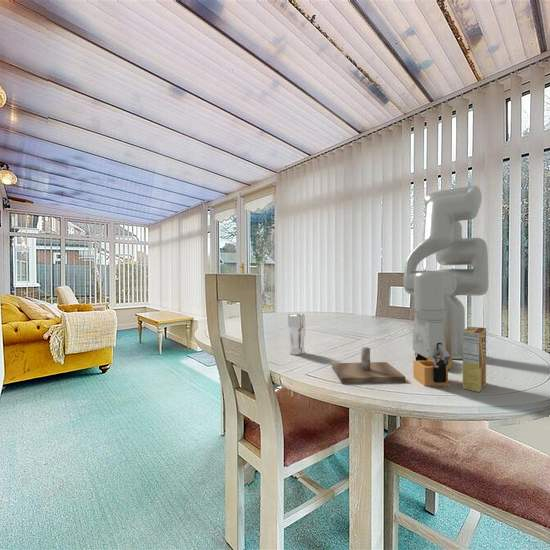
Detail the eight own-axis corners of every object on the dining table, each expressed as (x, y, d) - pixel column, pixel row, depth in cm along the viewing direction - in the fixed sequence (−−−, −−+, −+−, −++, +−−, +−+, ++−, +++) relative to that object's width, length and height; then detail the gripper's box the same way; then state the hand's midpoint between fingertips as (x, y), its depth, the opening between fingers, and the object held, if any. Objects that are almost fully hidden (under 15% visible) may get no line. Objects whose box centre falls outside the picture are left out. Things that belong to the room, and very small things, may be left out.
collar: (435, 377, 88) (435, 360, 88) (448, 385, 81) (447, 367, 81) (413, 377, 88) (413, 360, 88) (424, 385, 81) (424, 367, 81)
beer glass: (305, 350, 120) (305, 313, 120) (306, 355, 114) (305, 316, 113) (288, 350, 121) (287, 313, 121) (287, 355, 114) (286, 316, 114)
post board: (386, 366, 98) (386, 342, 98) (405, 381, 84) (404, 353, 84) (332, 367, 98) (331, 343, 98) (341, 383, 84) (341, 355, 84)
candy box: (469, 379, 85) (468, 326, 85) (487, 383, 82) (486, 327, 82) (462, 388, 79) (461, 330, 79) (481, 393, 76) (480, 332, 76)
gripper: (402, 311, 93) (403, 366, 93) (432, 320, 76) (433, 387, 76) (426, 311, 93) (427, 366, 93) (461, 319, 76) (462, 387, 76)
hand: (430, 375), depth 84 cm, fingers open, 9 cm apart
